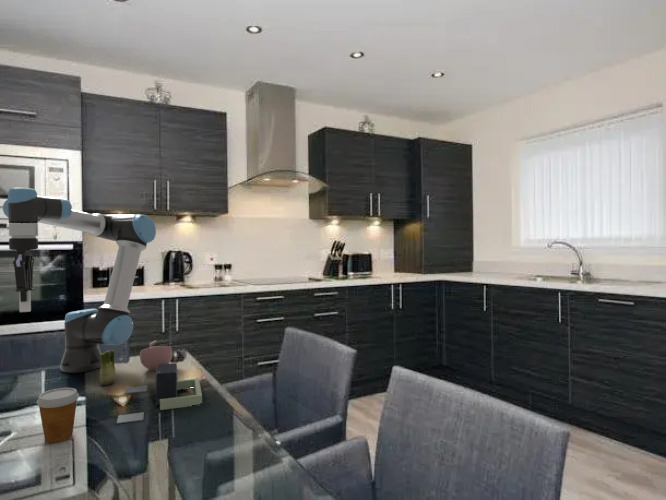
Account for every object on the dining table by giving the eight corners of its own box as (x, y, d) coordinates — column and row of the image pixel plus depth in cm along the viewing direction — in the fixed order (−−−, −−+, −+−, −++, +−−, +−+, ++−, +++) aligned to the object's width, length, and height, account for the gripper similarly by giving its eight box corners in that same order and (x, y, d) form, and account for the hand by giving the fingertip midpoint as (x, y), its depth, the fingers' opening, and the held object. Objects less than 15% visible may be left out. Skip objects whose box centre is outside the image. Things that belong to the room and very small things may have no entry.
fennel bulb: (114, 380, 162) (113, 348, 161) (118, 384, 158) (118, 351, 158) (96, 384, 158) (96, 351, 157) (101, 388, 154) (100, 354, 154)
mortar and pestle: (169, 363, 183) (168, 336, 183) (175, 371, 173) (175, 342, 173) (137, 368, 177) (137, 339, 176) (142, 376, 167) (142, 346, 166)
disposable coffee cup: (87, 432, 120) (87, 389, 120) (55, 449, 111) (54, 402, 111) (61, 427, 123) (61, 385, 123) (28, 442, 114) (27, 397, 114)
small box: (177, 403, 141) (177, 371, 141) (155, 406, 139) (155, 373, 139) (177, 392, 151) (177, 362, 151) (157, 394, 149) (157, 363, 149)
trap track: (125, 388, 154) (125, 380, 154) (197, 380, 162) (197, 372, 162) (116, 424, 126) (116, 413, 126) (203, 412, 134) (203, 402, 134)
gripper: (16, 236, 144) (17, 308, 145) (2, 237, 131) (4, 315, 132) (42, 237, 146) (44, 307, 147) (31, 237, 134) (33, 314, 135)
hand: (25, 311), depth 140 cm, fingers closed
